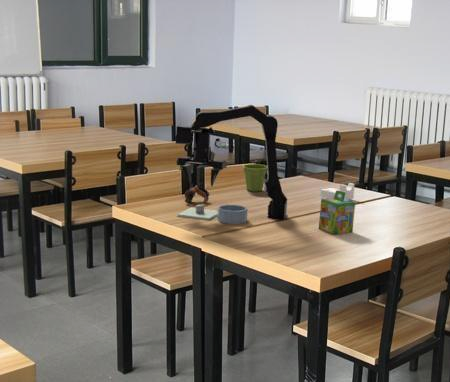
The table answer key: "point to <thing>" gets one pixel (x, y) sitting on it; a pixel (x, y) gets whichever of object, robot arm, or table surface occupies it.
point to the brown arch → (199, 190)
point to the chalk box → (337, 214)
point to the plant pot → (254, 176)
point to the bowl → (232, 214)
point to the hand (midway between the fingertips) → (200, 184)
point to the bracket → (331, 191)
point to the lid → (199, 213)
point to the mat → (200, 219)
